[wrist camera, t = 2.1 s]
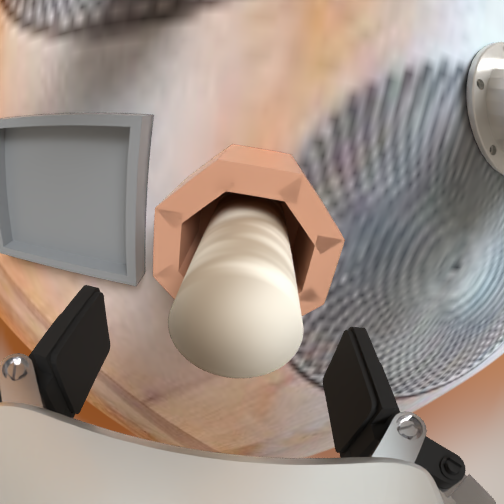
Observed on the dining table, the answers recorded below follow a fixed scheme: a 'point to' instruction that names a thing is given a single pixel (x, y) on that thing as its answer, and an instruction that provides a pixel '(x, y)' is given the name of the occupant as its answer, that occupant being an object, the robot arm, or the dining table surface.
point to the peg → (240, 293)
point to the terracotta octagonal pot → (256, 184)
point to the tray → (76, 192)
